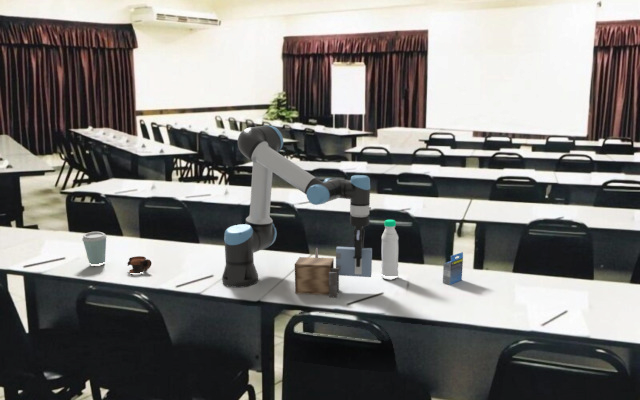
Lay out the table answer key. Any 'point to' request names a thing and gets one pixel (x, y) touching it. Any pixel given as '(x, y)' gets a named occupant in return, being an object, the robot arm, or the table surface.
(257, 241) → the robot arm
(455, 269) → the label tape box
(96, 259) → the disposable coffee cup
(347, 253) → the door
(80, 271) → the table surface
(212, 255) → the table surface
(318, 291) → the cabinet
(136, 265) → the pottery mug
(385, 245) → the water bottle
